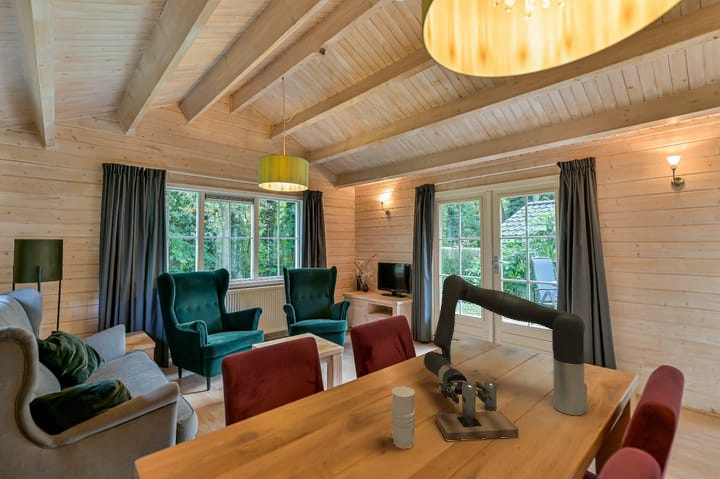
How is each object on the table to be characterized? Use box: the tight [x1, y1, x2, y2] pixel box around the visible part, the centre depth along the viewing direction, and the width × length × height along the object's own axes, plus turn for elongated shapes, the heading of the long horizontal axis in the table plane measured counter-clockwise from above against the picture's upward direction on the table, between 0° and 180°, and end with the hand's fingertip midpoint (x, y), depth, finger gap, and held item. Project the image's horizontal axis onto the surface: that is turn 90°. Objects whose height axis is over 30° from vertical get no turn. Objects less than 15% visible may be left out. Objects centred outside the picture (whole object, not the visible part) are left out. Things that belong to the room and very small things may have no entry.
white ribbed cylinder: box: [390, 386, 416, 448], centre depth 99 cm, size 7×7×15 cm
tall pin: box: [461, 381, 477, 427], centre depth 106 cm, size 4×4×14 cm
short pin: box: [483, 380, 498, 411], centre depth 119 cm, size 4×4×9 cm
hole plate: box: [434, 410, 519, 441], centre depth 106 cm, size 22×11×2 cm, turn 95°
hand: (471, 400), depth 104 cm, fingers open, 8 cm apart
